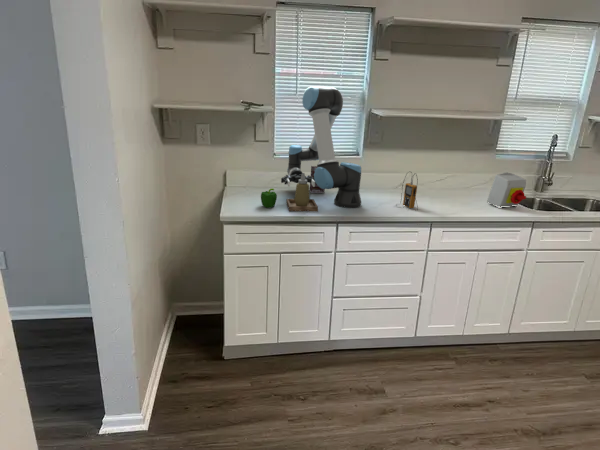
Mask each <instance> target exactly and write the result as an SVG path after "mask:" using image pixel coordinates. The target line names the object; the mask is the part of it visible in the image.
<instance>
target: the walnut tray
mask: <svg viewBox="0 0 600 450" xmlns="http://www.w3.org/2000/svg"><path fill="white" fill-rule="evenodd" d="M285 201H286V203H287V204H286V203H285V204H286V206H287V208H288V211H289V212H309V213H310V212H313V213H314V212H316V213H317V212H318V213H319V205H317V203H316V202H315V199H313V198H312V199H310V198H309V203H308V205H307V206H296V203H295V198H286V200H285Z"/></svg>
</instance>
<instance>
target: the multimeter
mask: <svg viewBox="0 0 600 450" xmlns="http://www.w3.org/2000/svg"><path fill="white" fill-rule="evenodd" d="M408 173H411V174H412V177H411V179H410V183H405V186H404V182H405V181H406V180H405V179H406V178H407V175H408ZM408 173H406V174H405V176H404V179H403V182H402V186H401V189H404V192H403V193H404V194H401V196H400V198H401V199H400V200H402V198H403V201H400V204H401V203H402V206H403V205H405V206H407V207H409V208H414V209H415V205H416V204H418V203H417V200H416V199H417V198H416V196H417V191H418V178H416V179H417V180H416V185H415V184H414V179H413V177H414V176H415V177H418V175H417V174H413V172H412V171H408ZM403 186H404V188H403ZM405 206H404V207H405ZM407 207H406V208H407ZM416 207H417V208H416V209H417V211H418V210H419V209H418V208H419V207H418V205H416ZM409 208H408V209H409Z"/></svg>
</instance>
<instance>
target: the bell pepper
mask: <svg viewBox="0 0 600 450" xmlns="http://www.w3.org/2000/svg"><path fill="white" fill-rule="evenodd" d="M274 190H275V189H274V187H273V188H270V189H268V190H265V191H261V193H260V201H261V205H262V206H263V207H264V208H266V209H270V208H274V207H275V205H276V204H277V203H276V202H277V200H278V199H277V198H278V195H277V193H276V191H274Z"/></svg>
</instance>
